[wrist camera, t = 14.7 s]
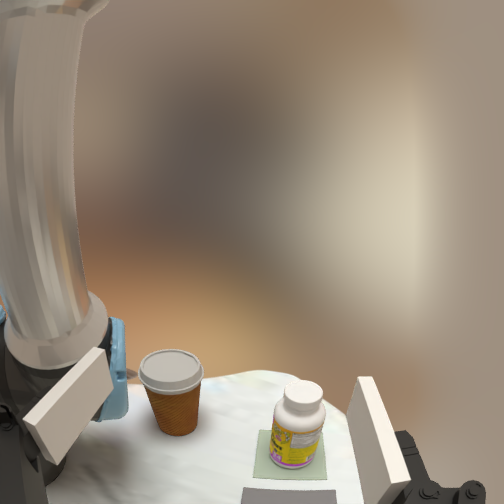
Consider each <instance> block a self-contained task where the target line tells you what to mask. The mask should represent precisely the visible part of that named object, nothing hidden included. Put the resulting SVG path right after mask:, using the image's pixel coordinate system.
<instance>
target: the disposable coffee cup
mask: <svg viewBox="0 0 504 504" xmlns="http://www.w3.org/2000/svg"><path fill="white" fill-rule="evenodd" d="M138 376H139V379H140V381H141V382H142V383H143V385H144V387H145V389H146V392H147V395H148V398H149V401H150V404H151V406H152V409H153V412H154V414H155V417H156V419H157V422H158V425H159V427H160V429H161V430H162V431H163V432H165V433H167V434H169V435H173V436H182V435H186V434H189V433H191V432H192V431H193V430H194V429H195V428H196V426H197V419H198V407H199V396H200V386H201V380H202V378H203V376H204V369H203V366H202V365H201V364H200V361H199V359H198V358H197V357H196V356H195V355H194V354H192V353H189V352H187V351H184V350H178V349H164V350H159V351H155V352H153V353H150V354H148V355H147V356H146V357H144V359H143V360H142V361H141V364H140V368H139V370H138Z"/></svg>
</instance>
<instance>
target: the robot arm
mask: <svg viewBox="0 0 504 504" xmlns="http://www.w3.org/2000/svg"><path fill="white" fill-rule="evenodd" d="M108 2H109V0H0V294H1V297H2V300H3V302H4V305H5V308H6V310H7V313H8V318H7V319H6V313H5V311H4V310H3V307H2V306H1V305H0V504H48V500H47V495H46V491H45V486H46V485H48V484H49V483H51V482H52V481H53V480H54V479H55V478H56V477H57V476H58V475H59V474H60V472H61V471H62V469H63V467H64V464H65V460H66V453H67V452H68V450H69V449H70V447H71V446H72V445H73V443H74V442H75V440H76V439H77V438H78V436H79V435H80V434H81V432H82V431H83V429H84V428H85V427H86V425H87V424H88V422H89V421H95V422H101V421H102V420H112V419H120V418H122V417H124V416H125V415H126V413H127V412H128V391H127V377H126V353H125V325H124V322H123V321H122V320H121V319H117V318H114V317H109V318H108V315H107V311H106V308H105V306H104V304H103V303H102V301H101V300H100V299H99V298H98V297H97V296H96V295H94V294H93V293H91V292H89V291H87V286H86V280H85V275H84V269H83V263H82V256H81V249H80V242H79V235H78V225H77V215H76V204H75V190H74V166H73V129H74V103H75V91H76V80H77V71H78V63H79V55H80V48H81V42H82V36H83V31H84V25H85V23H86V22H87V21H88V20H89V19H90V18H91V17H92V16H94V15H95V14H96V13H97V12H99V11H100V10H102V9H103V8H104V7H105V6H106V5H107V4H108ZM346 418H347V422H348V427H349V431H350V436H351V440H352V445H353V449H354V454H355V459H356V464H357V468H358V473H359V478H360V483H361V489H362V494H363V499H364V504H485V498H486V492H485V488H484V486H483V485H482V484H481V483H480V482H478V481H474V480H472V481H467V482H466V483H464V484H463V485H462V486H461V487H460V488H442V487H440V485H439V484H438V483H436V482H434V481H431V480H430V478H429V476H428V474H427V471H426V469H425V466H424V464H423V461H422V459H421V456H420V455H419V451H418V449H417V448H416V444H415V442H414V439H413V437H412V436H411V435H410V434H409V433H408V432H407V431H406V430H405V431H398V432H394V431H393V428H392V425H391V423H390V420H389V418H388V415H387V413H386V410H385V407H384V405H383V403H382V400H381V397H380V395H379V393H378V390H377V387H376V385H375V383H374V380H373V378H372V377H358V378H357V381H356V385H355V388H354V392H353V395H352V398H351V401H350V404H349V408H348V411H347V414H346Z"/></svg>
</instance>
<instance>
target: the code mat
mask: <svg viewBox="0 0 504 504" xmlns="http://www.w3.org/2000/svg"><path fill="white" fill-rule="evenodd" d="M241 504H337V500H336V490H310V491H299V490H270V489H256V488H246V487H244V488H243V494H242V499H241Z"/></svg>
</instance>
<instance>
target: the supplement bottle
mask: <svg viewBox="0 0 504 504" xmlns="http://www.w3.org/2000/svg"><path fill="white" fill-rule="evenodd" d="M322 394H323V392H322V389H321V387H320V386H319V385H317V384H316V383H314V382H311V381H306V380H299V381H294V382H291V383H289V384H288V385H287V386H286V387H285V390H284V396H283V398H282V399H280V400H279V401H278V403H277V404H276V406H275V409H274V416H273V424H272V432H271V440H270V448H269V454H270V457H271V459H272V460H273V461H274V462H275V463H276V464H278V465H279V466H281V467H284V468H289V469H296V468H300V467H303V466H306V465H307V464H309V463H310V462H311V461H312V459H313V458H314V455H315V452H316V449H317V446H318V442H319V438H320V435H321V431H322V427H323V424H324V420H325V416H326V410H325V407H324V405H323V403H322V402H321V401H322Z"/></svg>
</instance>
